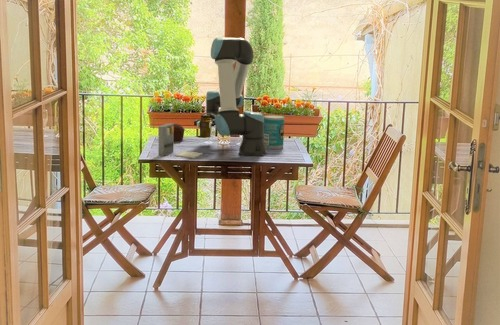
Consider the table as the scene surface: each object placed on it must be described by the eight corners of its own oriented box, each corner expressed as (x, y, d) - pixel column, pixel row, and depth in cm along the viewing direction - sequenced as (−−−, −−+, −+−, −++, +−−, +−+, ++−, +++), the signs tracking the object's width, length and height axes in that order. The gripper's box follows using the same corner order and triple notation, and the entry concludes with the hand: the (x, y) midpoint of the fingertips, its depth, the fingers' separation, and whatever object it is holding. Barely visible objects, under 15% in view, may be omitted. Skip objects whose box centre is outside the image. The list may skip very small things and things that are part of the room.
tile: (202, 154, 395) (202, 153, 395) (194, 157, 385) (194, 156, 385) (184, 152, 399) (184, 151, 399) (175, 155, 389) (175, 154, 389)
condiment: (213, 136, 401) (214, 115, 399) (204, 138, 394) (204, 116, 392) (203, 135, 405) (204, 114, 403) (194, 137, 399) (194, 115, 396)
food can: (286, 148, 419) (287, 117, 415) (267, 149, 415) (268, 118, 411) (278, 144, 430) (279, 114, 426) (259, 145, 426) (260, 115, 422)
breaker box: (175, 152, 398) (175, 123, 395) (165, 156, 387) (165, 126, 384) (168, 151, 399) (168, 123, 396) (158, 155, 388) (158, 126, 385)
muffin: (162, 139, 435) (162, 123, 433) (178, 138, 442) (178, 122, 440) (172, 142, 426) (172, 126, 424) (188, 141, 432) (188, 124, 430)
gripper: (226, 127, 416) (220, 132, 393) (193, 125, 418) (186, 131, 395) (226, 114, 415) (221, 119, 392) (193, 113, 416) (186, 118, 394)
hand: (203, 125), depth 394 cm, fingers closed on condiment, 6 cm apart
